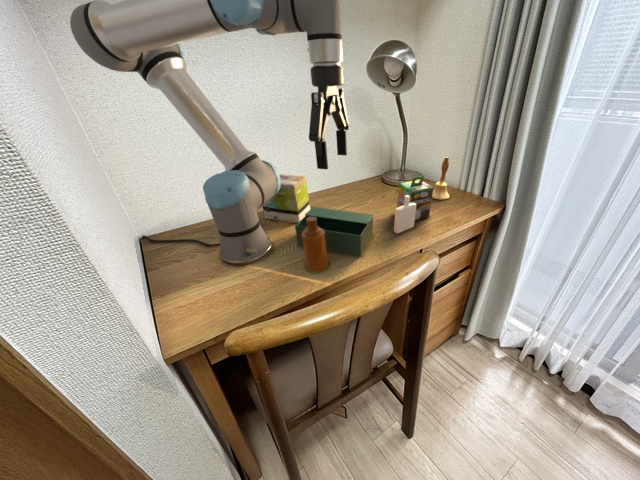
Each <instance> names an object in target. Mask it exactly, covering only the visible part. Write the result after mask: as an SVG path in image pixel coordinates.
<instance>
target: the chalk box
mask: <svg viewBox="0 0 640 480" xmlns="http://www.w3.org/2000/svg"><path fill="white" fill-rule="evenodd" d="M424 179H425V176H424V175H420V176H419V175H418V176H414V177H413V178H412V180H409V181H405V182H400V183H399V184H398V192H397V205H396V208H398V207H401V206H403V205H404V200H405V196H407V195H408V196H410V198H409V203H412V202H413V203H416V213H415V221H417V220H422V219H426V218H429V217H430V213H431V208H432V201H433V198H432V195H433V190H434V188H435V186H432V185H430V184H428V183H427V182H425V181H424Z"/></svg>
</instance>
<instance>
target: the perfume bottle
mask: <svg viewBox="0 0 640 480" xmlns="http://www.w3.org/2000/svg"><path fill="white" fill-rule="evenodd" d="M409 198H410V196H408V195H407V196H405V200H404V205H403V206H401V207H398V208H397V207H396V208H395V211H394V226H393V232H394V233H395V234H400V233H402V232H405V231H407V230H410V229H412V228H414V227H415V221H416V220H415V213H416V203H413V202H412V203H409Z"/></svg>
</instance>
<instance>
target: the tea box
mask: <svg viewBox="0 0 640 480" xmlns="http://www.w3.org/2000/svg"><path fill="white" fill-rule="evenodd" d="M279 175H280V178H281V187H280V190H279V192H278V193H277V194H276V195H275V197H274V198H273V199H271V200H270V201H268V202H267V203H266V204H265V205H263V206H262V207H261V208H262V211H263V214H264V217H265V219H266V220H276V221H282V222H287V223H288V222H289V223H292V224H293V223H294V224H297V223H298V222H300V221H301V220H302V219H303V218H304V217H305V216H306V215H305V214H306V213H307V212H308V211H309V210H310V209H311V205H310V196H309V189H308V180H307V176H303V175H293V174H282V173H279Z"/></svg>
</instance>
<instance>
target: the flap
mask: <svg viewBox="0 0 640 480" xmlns="http://www.w3.org/2000/svg"><path fill="white" fill-rule="evenodd" d="M305 215H306V216H313V217H320V218H327V219H334V220H341V221H348V222H355V223H362V224H368V222H369V221H370V219H371V218H372V217H374V214H372V213H371V214H370V213H363V212H355V211H346V210H339V209H333V208H324V207H316V206H312V207H310V210H309V211H308V212H307V213H306V214H305Z"/></svg>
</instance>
